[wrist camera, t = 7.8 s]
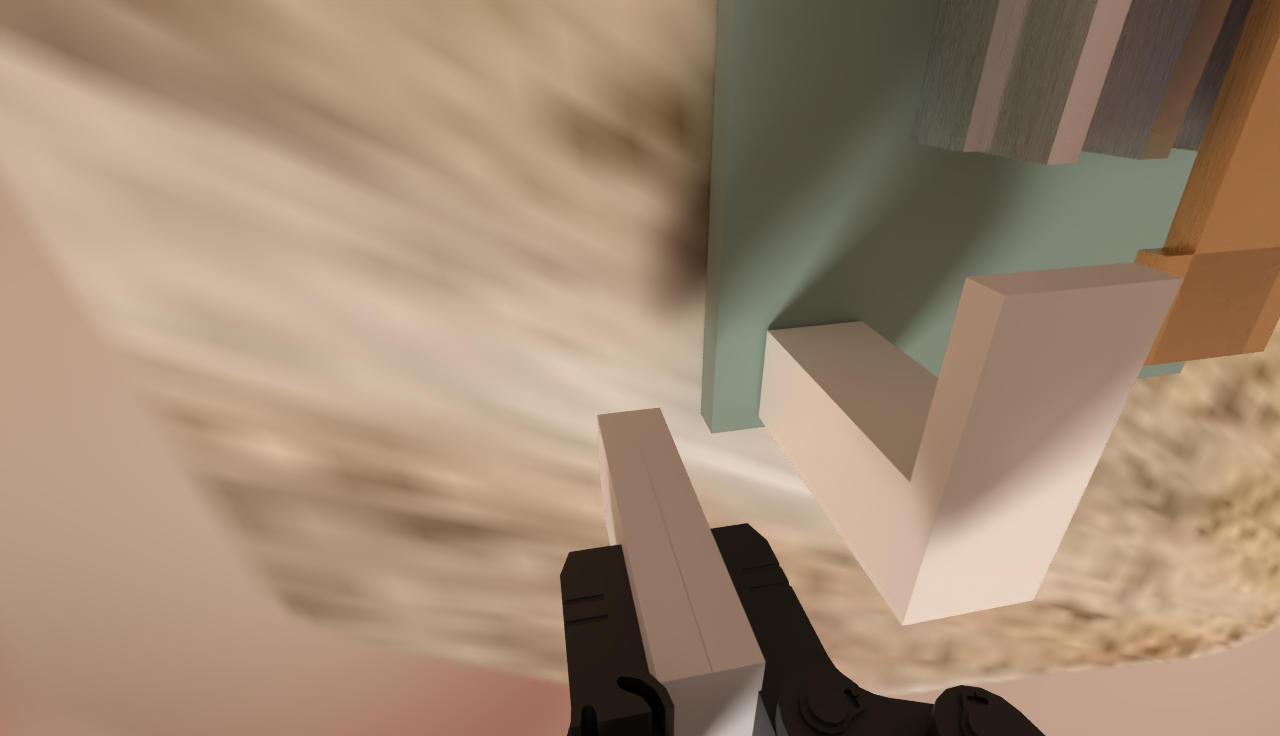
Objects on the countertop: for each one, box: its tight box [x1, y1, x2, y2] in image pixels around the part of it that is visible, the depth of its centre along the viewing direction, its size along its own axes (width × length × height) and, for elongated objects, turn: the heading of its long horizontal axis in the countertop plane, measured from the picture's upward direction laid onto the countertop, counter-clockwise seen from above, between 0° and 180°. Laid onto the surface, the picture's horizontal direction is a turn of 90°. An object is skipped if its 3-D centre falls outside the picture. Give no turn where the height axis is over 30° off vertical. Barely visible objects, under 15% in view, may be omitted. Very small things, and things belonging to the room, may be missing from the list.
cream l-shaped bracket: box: [759, 262, 1183, 626], centre depth 13 cm, size 7×3×8 cm, turn 1°
